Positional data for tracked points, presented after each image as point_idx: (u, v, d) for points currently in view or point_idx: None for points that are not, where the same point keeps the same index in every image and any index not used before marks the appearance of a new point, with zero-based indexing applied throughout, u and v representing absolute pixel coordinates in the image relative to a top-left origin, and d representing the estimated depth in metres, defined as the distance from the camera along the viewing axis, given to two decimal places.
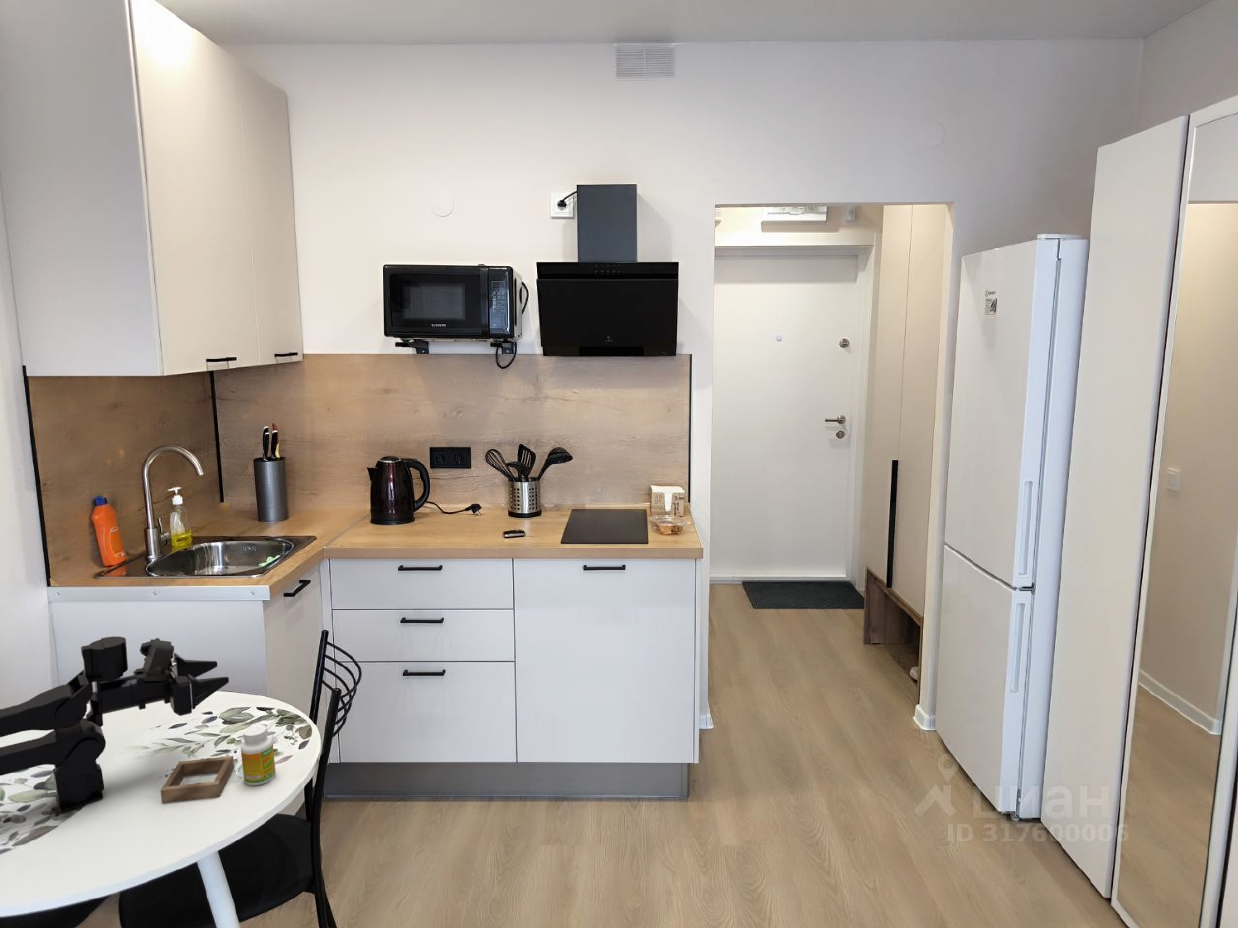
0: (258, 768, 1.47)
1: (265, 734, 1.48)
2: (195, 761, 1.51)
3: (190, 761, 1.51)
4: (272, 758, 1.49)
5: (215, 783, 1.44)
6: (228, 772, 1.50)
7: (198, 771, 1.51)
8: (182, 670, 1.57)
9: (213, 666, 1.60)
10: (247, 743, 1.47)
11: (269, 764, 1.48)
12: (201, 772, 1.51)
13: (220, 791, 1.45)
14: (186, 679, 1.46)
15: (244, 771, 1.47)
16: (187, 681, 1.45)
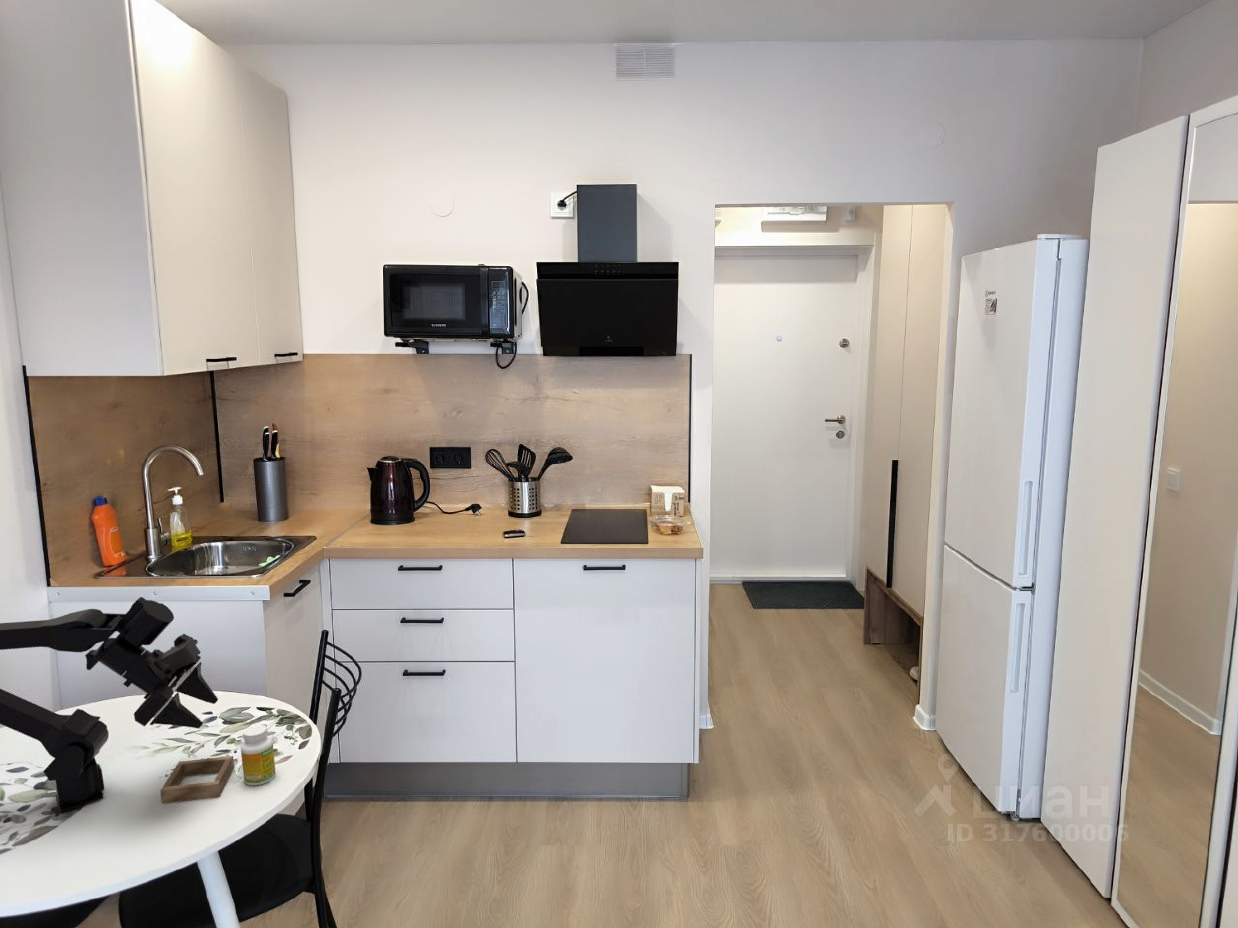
0: (258, 768, 1.47)
1: (265, 734, 1.48)
2: (195, 761, 1.51)
3: (190, 761, 1.51)
4: (272, 758, 1.49)
5: (215, 783, 1.44)
6: (228, 772, 1.50)
7: (198, 771, 1.51)
8: (189, 681, 1.49)
9: (211, 701, 1.50)
10: (247, 743, 1.47)
11: (269, 764, 1.48)
12: (201, 772, 1.51)
13: (220, 791, 1.45)
14: (169, 695, 1.36)
15: (244, 771, 1.47)
16: (167, 698, 1.36)
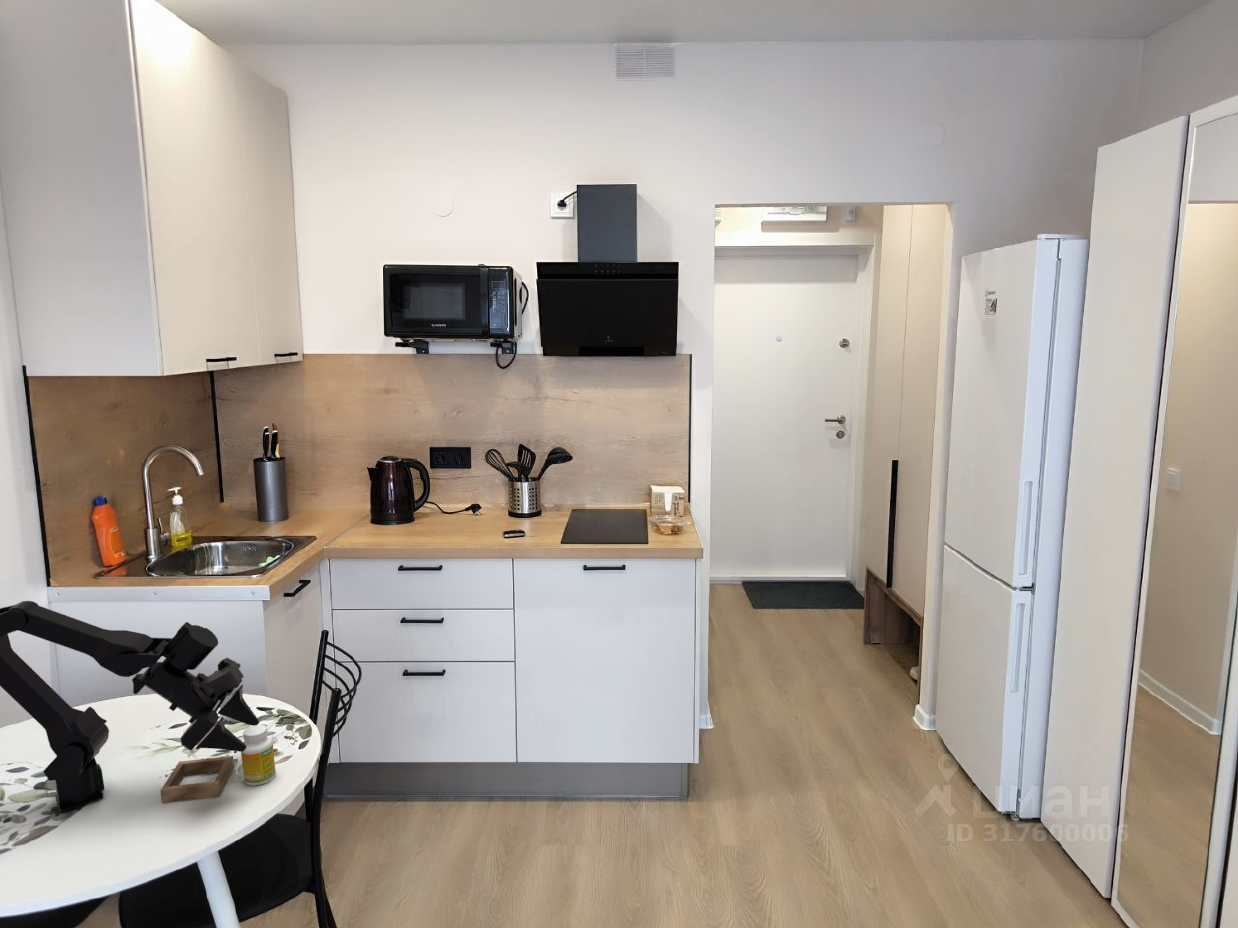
0: (258, 768, 1.47)
1: (265, 734, 1.48)
2: (195, 761, 1.51)
3: (190, 761, 1.51)
4: (272, 758, 1.49)
5: (215, 783, 1.44)
6: (228, 772, 1.50)
7: (198, 771, 1.51)
8: (231, 704, 1.51)
9: (253, 723, 1.52)
10: (247, 743, 1.47)
11: (269, 764, 1.48)
12: (201, 772, 1.51)
13: (220, 791, 1.45)
14: (215, 720, 1.38)
15: (244, 771, 1.47)
16: (213, 723, 1.38)
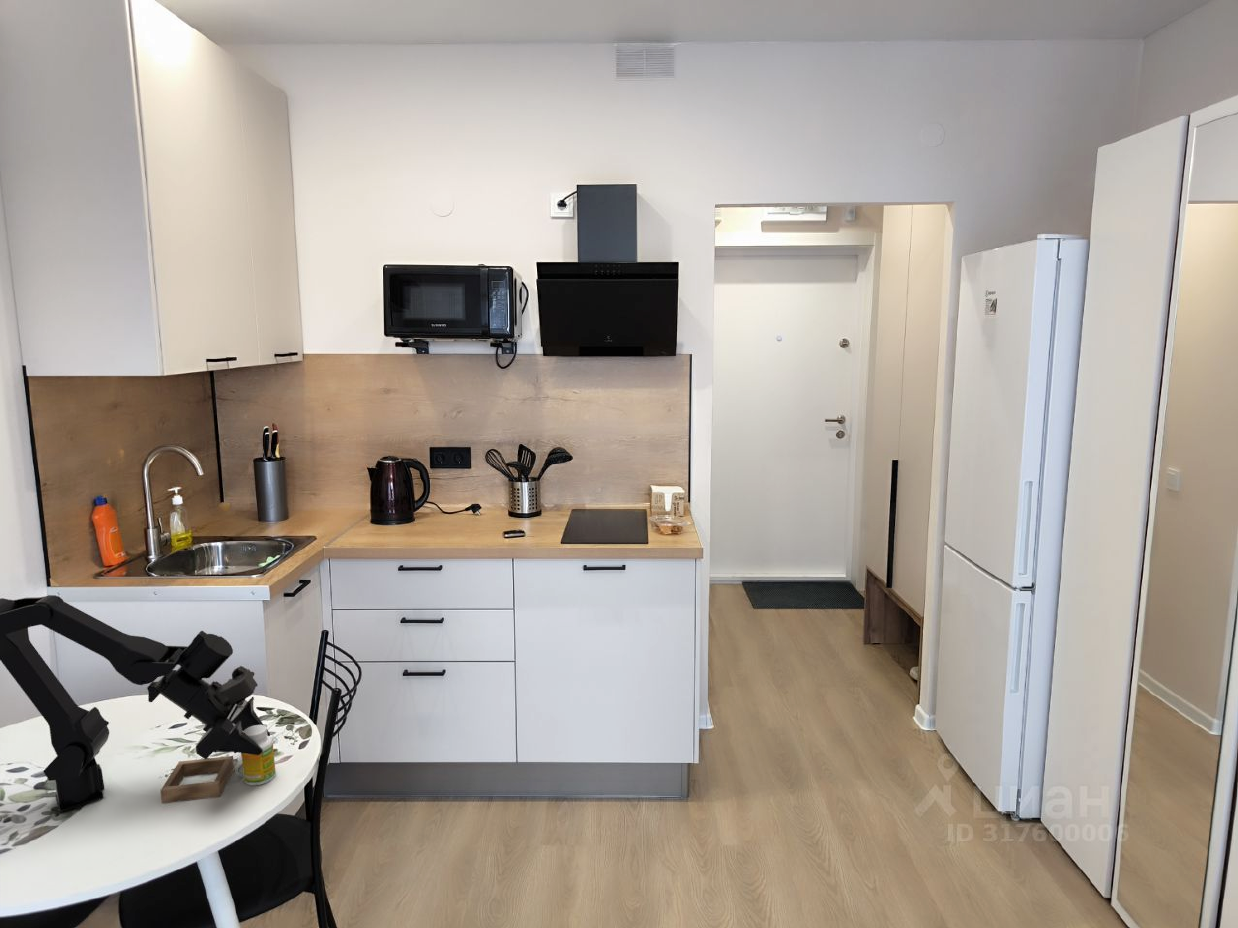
0: (258, 768, 1.47)
1: (265, 734, 1.48)
2: (195, 761, 1.51)
3: (190, 761, 1.51)
4: (272, 758, 1.49)
5: (215, 783, 1.44)
6: (228, 772, 1.50)
7: (198, 771, 1.51)
8: (242, 716, 1.50)
9: None
10: None
11: (269, 764, 1.48)
12: (201, 772, 1.51)
13: (220, 791, 1.45)
14: (230, 729, 1.39)
15: (244, 771, 1.47)
16: (228, 732, 1.38)
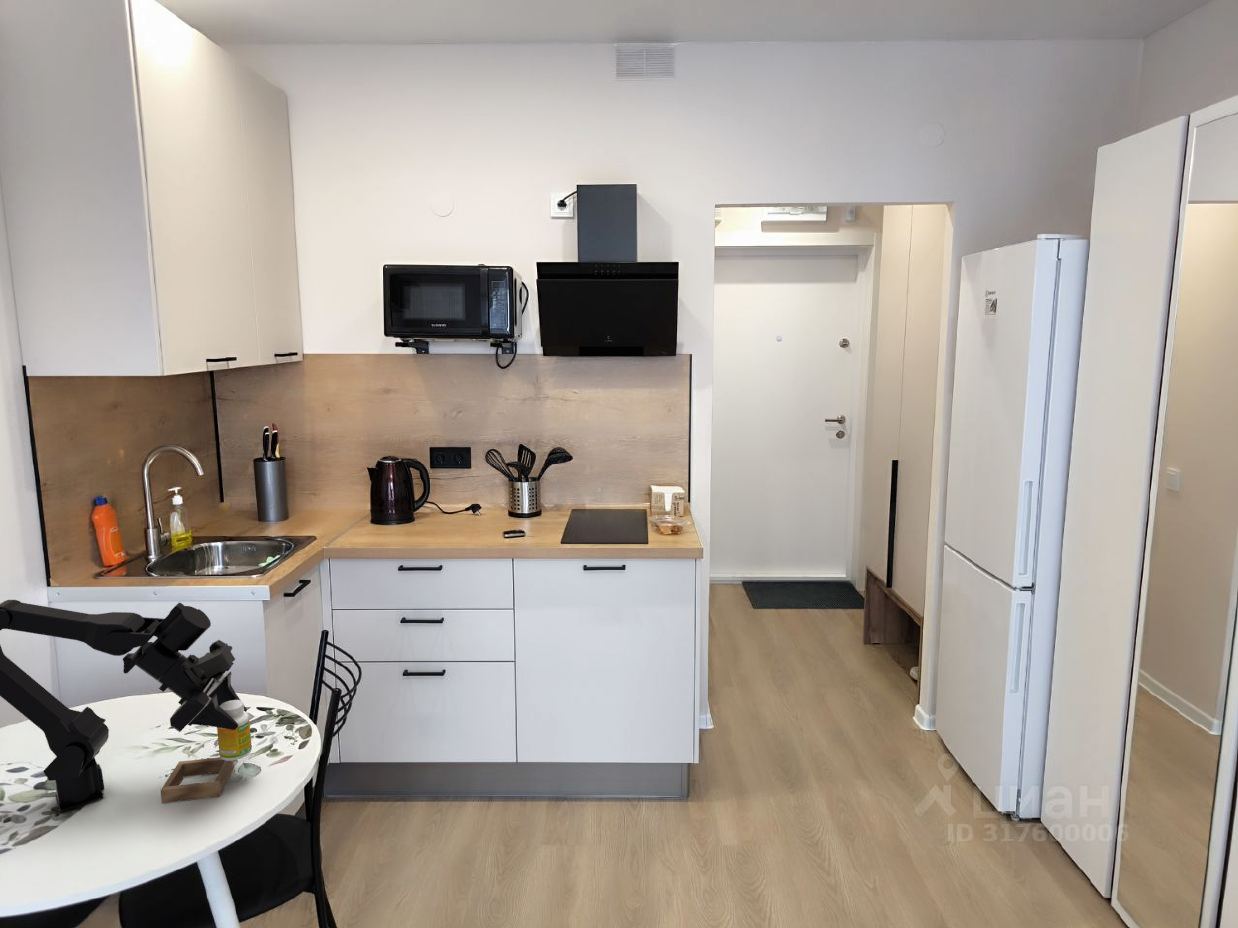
0: (234, 743, 1.45)
1: (242, 709, 1.46)
2: (195, 761, 1.51)
3: (190, 761, 1.51)
4: (248, 734, 1.47)
5: (215, 783, 1.44)
6: (228, 772, 1.50)
7: (198, 771, 1.51)
8: (219, 691, 1.49)
9: None
10: None
11: (245, 740, 1.46)
12: (201, 772, 1.51)
13: (220, 791, 1.45)
14: (205, 702, 1.38)
15: (219, 746, 1.46)
16: (203, 704, 1.37)
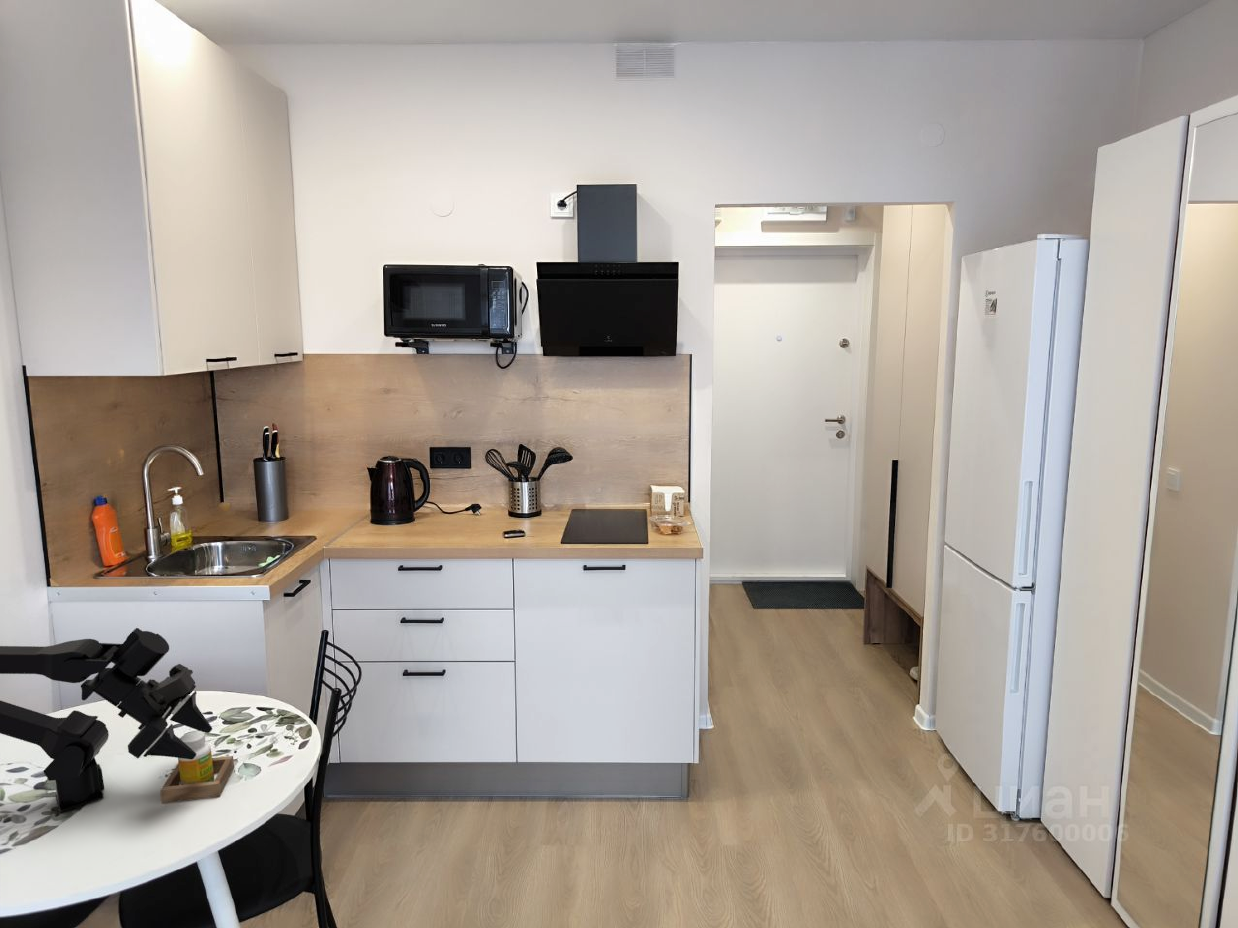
0: (195, 775, 1.45)
1: (202, 741, 1.46)
2: None
3: None
4: (210, 765, 1.47)
5: (215, 783, 1.44)
6: (228, 772, 1.50)
7: None
8: (183, 710, 1.50)
9: (206, 730, 1.51)
10: None
11: (207, 771, 1.46)
12: None
13: (220, 791, 1.45)
14: (163, 728, 1.37)
15: (181, 778, 1.45)
16: (161, 730, 1.36)
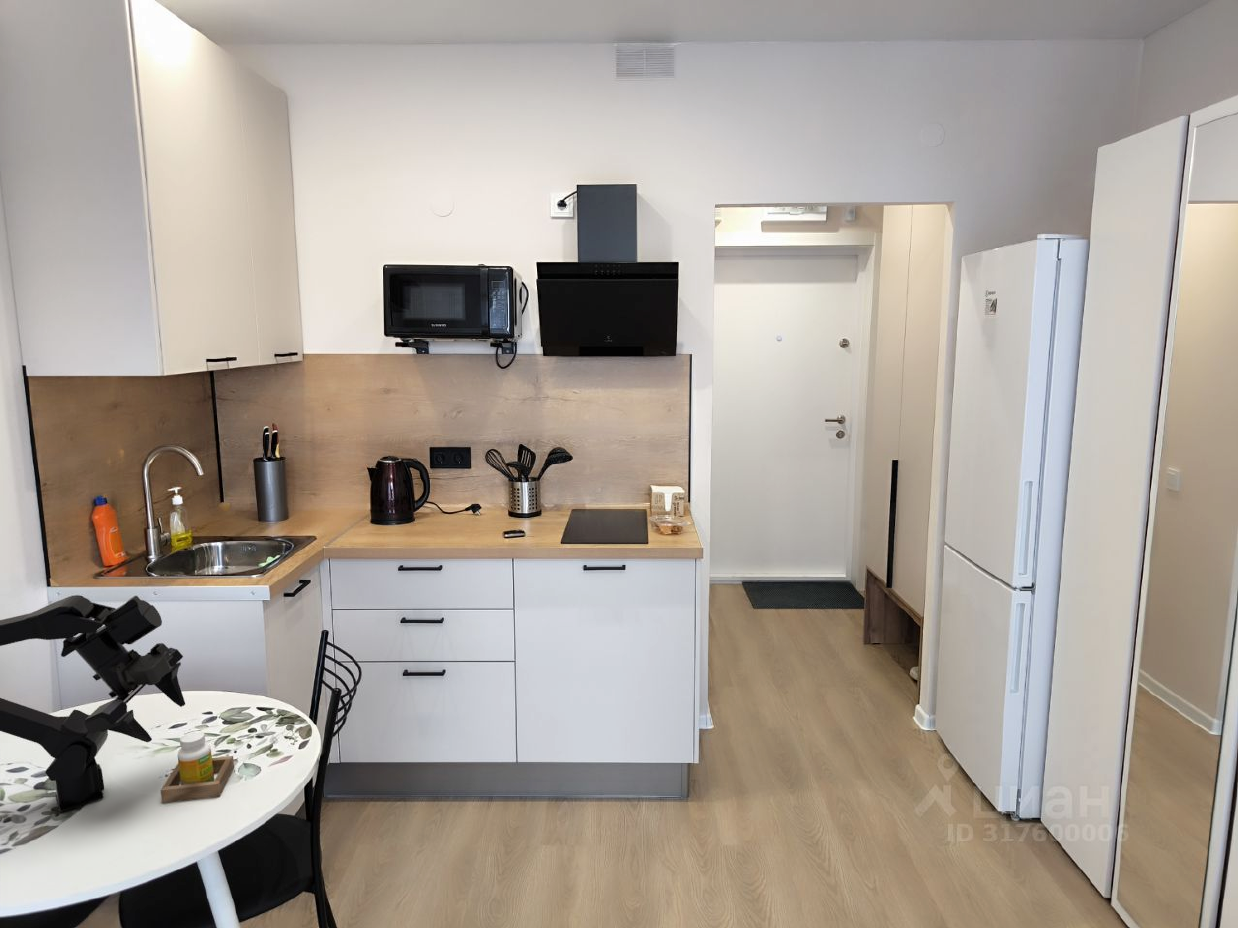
0: (195, 775, 1.45)
1: (202, 741, 1.46)
2: None
3: None
4: (210, 765, 1.47)
5: (215, 783, 1.44)
6: (228, 772, 1.50)
7: None
8: (163, 679, 1.49)
9: (179, 703, 1.50)
10: (183, 750, 1.45)
11: (207, 771, 1.46)
12: None
13: (220, 791, 1.45)
14: (119, 716, 1.36)
15: (181, 778, 1.45)
16: (115, 720, 1.35)
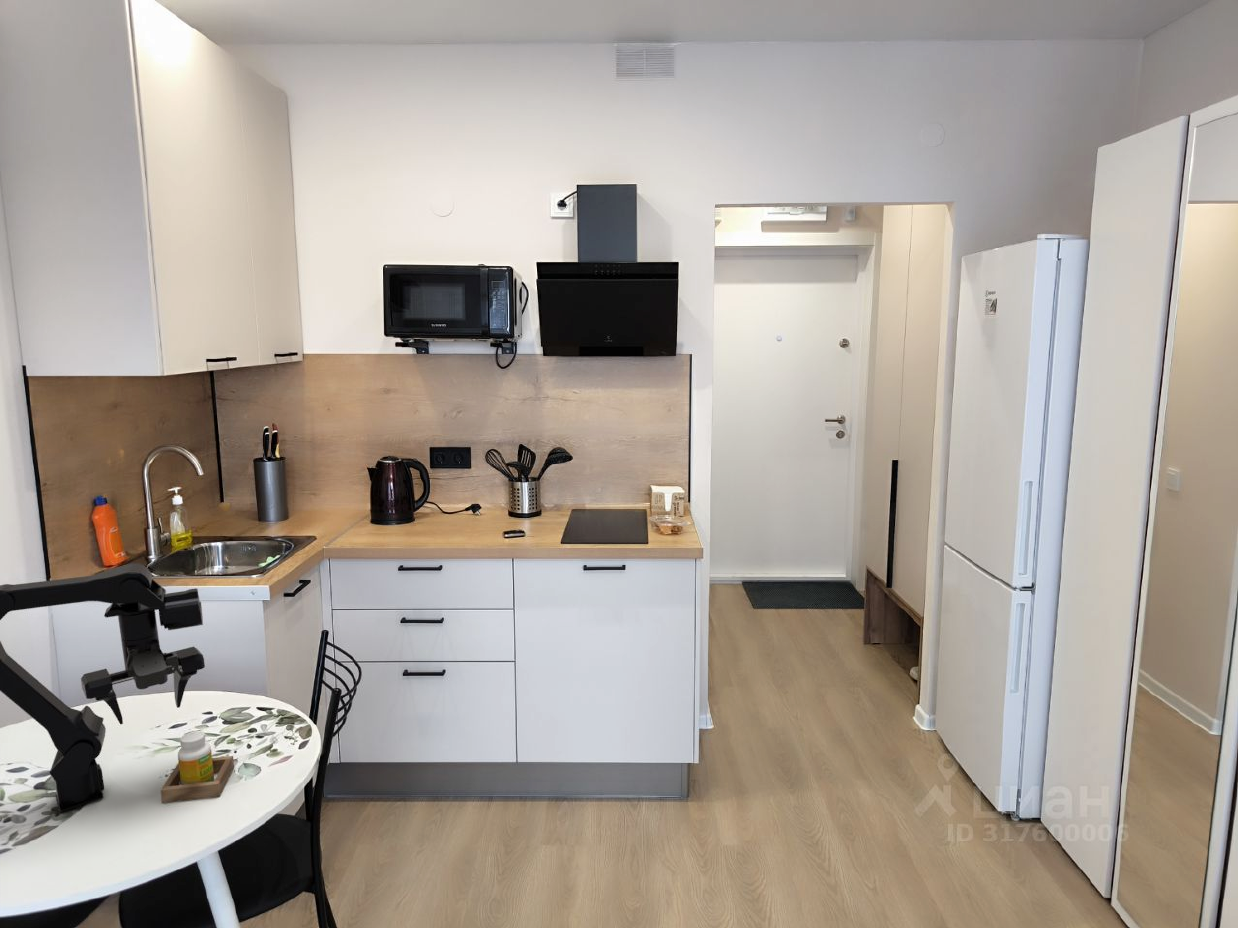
0: (195, 775, 1.45)
1: (203, 741, 1.46)
2: None
3: None
4: (210, 765, 1.47)
5: (215, 783, 1.44)
6: (228, 772, 1.50)
7: None
8: (176, 675, 1.49)
9: (176, 702, 1.50)
10: (184, 749, 1.45)
11: (207, 771, 1.46)
12: None
13: (220, 791, 1.45)
14: (98, 695, 1.39)
15: (181, 778, 1.45)
16: (91, 696, 1.38)
